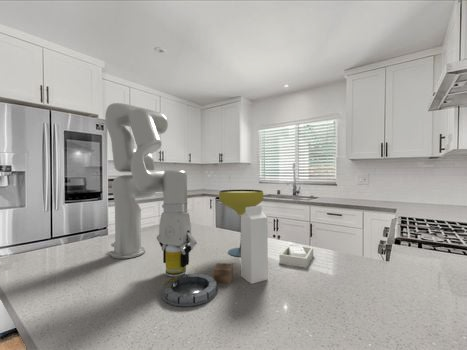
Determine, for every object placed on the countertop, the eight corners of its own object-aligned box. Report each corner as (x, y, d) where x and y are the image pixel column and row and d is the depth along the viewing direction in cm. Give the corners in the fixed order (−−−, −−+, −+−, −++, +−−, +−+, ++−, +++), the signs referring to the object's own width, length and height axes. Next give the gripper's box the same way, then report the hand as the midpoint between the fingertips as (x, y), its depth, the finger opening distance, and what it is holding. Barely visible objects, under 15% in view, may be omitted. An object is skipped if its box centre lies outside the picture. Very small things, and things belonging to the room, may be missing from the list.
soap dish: (279, 263, 86) (279, 254, 86) (289, 252, 98) (289, 244, 98) (306, 267, 82) (306, 258, 82) (313, 255, 93) (313, 247, 93)
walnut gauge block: (213, 283, 71) (213, 269, 71) (217, 275, 76) (217, 263, 76) (230, 284, 70) (230, 270, 70) (232, 276, 75) (232, 264, 75)
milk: (268, 279, 73) (268, 206, 73) (251, 284, 70) (251, 208, 70) (256, 272, 78) (256, 204, 78) (240, 276, 75) (240, 205, 75)
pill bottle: (181, 278, 74) (180, 240, 74) (161, 276, 75) (161, 239, 75) (189, 269, 81) (189, 235, 80) (171, 268, 82) (171, 234, 82)
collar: (150, 298, 62) (150, 290, 62) (186, 276, 75) (186, 270, 75) (196, 313, 55) (196, 304, 55) (227, 286, 68) (227, 279, 68)
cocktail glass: (238, 264, 85) (238, 193, 85) (210, 251, 100) (210, 190, 99) (273, 253, 97) (272, 191, 97) (243, 243, 111) (243, 188, 111)
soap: (288, 253, 95) (288, 245, 95) (302, 253, 94) (302, 246, 94) (291, 261, 86) (291, 253, 86) (307, 262, 85) (307, 253, 85)
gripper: (147, 208, 79) (147, 263, 79) (189, 211, 71) (190, 273, 71) (163, 205, 85) (164, 256, 85) (204, 208, 77) (204, 264, 77)
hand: (176, 263), depth 78 cm, fingers closed on pill bottle, 6 cm apart
